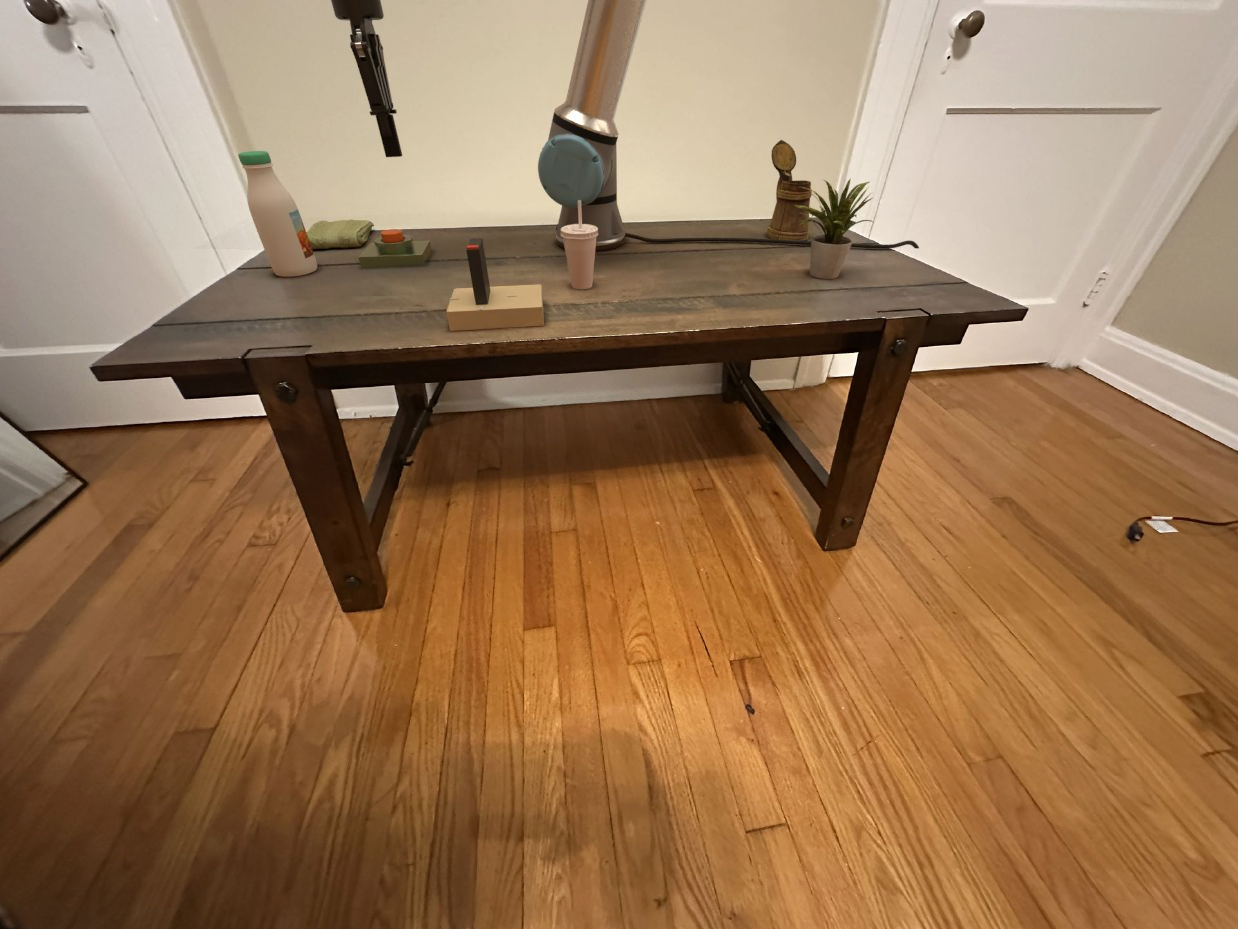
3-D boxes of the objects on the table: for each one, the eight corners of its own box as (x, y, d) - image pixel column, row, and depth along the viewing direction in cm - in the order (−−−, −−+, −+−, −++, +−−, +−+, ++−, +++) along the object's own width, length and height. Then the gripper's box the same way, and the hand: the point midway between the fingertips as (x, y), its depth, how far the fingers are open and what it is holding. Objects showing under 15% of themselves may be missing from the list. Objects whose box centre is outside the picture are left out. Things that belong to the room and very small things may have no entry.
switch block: (432, 251, 113) (428, 231, 110) (424, 265, 105) (419, 244, 102) (373, 253, 111) (368, 233, 109) (361, 268, 104) (355, 247, 101)
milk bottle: (301, 279, 99) (255, 155, 87) (265, 276, 100) (215, 154, 88) (327, 266, 105) (288, 149, 93) (292, 264, 106) (249, 148, 94)
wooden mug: (783, 225, 128) (798, 138, 117) (816, 240, 118) (835, 146, 107) (750, 228, 126) (762, 140, 115) (780, 243, 116) (796, 148, 105)
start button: (405, 237, 108) (403, 228, 107) (402, 243, 105) (399, 234, 103) (385, 238, 107) (383, 229, 106) (381, 244, 104) (378, 234, 103)
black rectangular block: (479, 291, 84) (469, 236, 79) (490, 290, 85) (482, 236, 80) (475, 304, 80) (465, 247, 75) (487, 304, 80) (478, 247, 75)
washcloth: (376, 228, 128) (372, 214, 126) (364, 249, 114) (359, 233, 112) (318, 231, 126) (313, 217, 124) (299, 253, 112) (293, 237, 110)
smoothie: (572, 294, 92) (567, 206, 83) (558, 283, 96) (552, 198, 88) (605, 288, 94) (604, 201, 85) (590, 277, 98) (587, 194, 90)
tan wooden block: (543, 301, 89) (541, 283, 87) (544, 326, 81) (542, 305, 79) (457, 306, 88) (453, 287, 86) (449, 331, 80) (445, 310, 78)
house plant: (810, 256, 108) (829, 165, 98) (877, 271, 100) (904, 174, 90) (772, 272, 100) (788, 175, 90) (840, 290, 92) (866, 186, 82)
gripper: (339, -8, 90) (380, 152, 104) (316, -17, 80) (365, 162, 94) (385, -9, 91) (420, 150, 105) (367, -18, 80) (409, 160, 95)
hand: (394, 156), depth 99 cm, fingers closed
